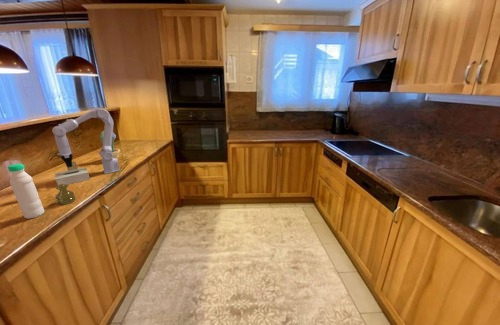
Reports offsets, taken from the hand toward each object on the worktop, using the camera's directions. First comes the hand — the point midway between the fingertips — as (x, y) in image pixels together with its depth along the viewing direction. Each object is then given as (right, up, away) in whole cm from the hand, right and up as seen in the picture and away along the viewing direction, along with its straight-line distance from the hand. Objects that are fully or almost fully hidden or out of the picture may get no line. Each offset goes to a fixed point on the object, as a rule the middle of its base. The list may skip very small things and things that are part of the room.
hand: (69, 166), depth 137 cm
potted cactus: (0, +4, +41) cm, 42 cm away
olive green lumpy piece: (+19, -18, -25) cm, 36 cm away
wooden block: (+1, -2, +1) cm, 3 cm away
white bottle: (+14, -22, -37) cm, 45 cm away
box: (0, -9, +3) cm, 9 cm away
